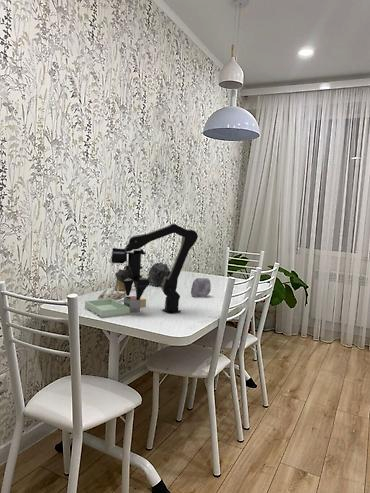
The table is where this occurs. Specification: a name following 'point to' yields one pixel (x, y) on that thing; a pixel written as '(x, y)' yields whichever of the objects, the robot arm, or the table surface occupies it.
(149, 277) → the rock
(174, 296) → the robot arm
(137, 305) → the tea tin
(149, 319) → the table surface
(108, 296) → the skeleton model
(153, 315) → the table surface
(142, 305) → the carton
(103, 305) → the tote
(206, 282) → the rock
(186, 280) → the table surface
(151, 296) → the table surface
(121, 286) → the wooden mug
